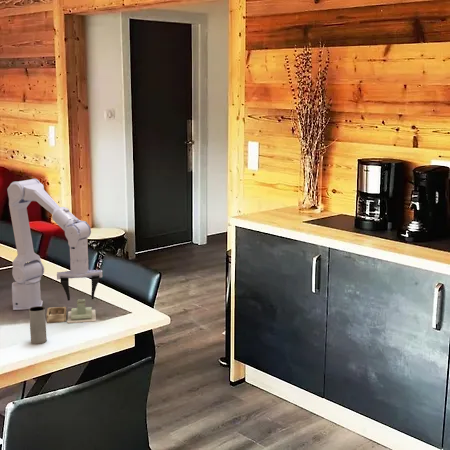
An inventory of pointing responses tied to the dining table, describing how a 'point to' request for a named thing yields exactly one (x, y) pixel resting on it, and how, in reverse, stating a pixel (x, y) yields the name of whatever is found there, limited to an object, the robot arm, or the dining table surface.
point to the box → (56, 314)
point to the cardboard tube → (37, 325)
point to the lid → (81, 310)
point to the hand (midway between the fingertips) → (80, 298)
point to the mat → (81, 319)
